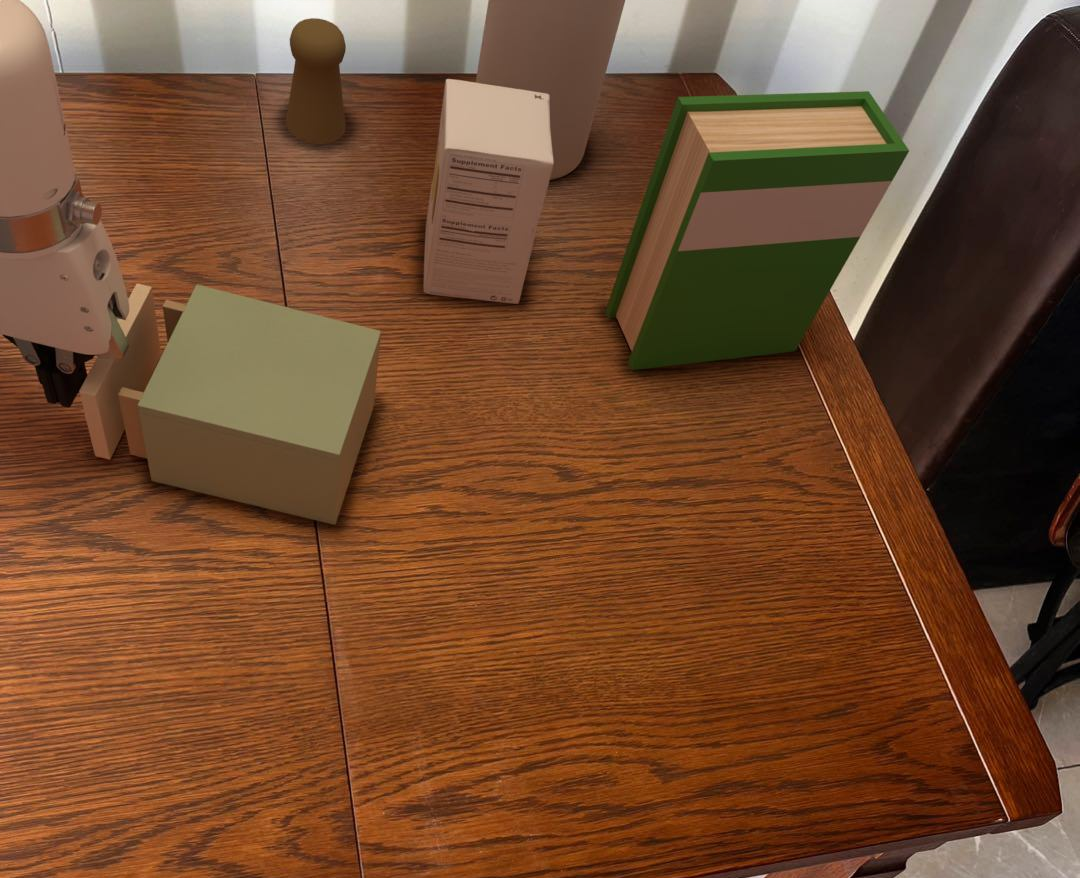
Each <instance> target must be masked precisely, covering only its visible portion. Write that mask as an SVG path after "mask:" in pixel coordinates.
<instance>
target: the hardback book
mask: <svg viewBox="0 0 1080 878" xmlns="http://www.w3.org/2000/svg"><path fill="white" fill-rule="evenodd" d="M665 131H666V132H665V134H664V138H663V140H662V143H661V146H660V149H659V152H658V155H657V157H656V161H655V163H654V168H653V170H652V172H651V175H650V178H649V182H648V184H647V187H646V190H645V193H644V196H643V199H642V202H641V205H640V208H639V211H638V213H637V217H636V220H635V222H634V225H633V228H632V231H631V234H630V237H629V240H628V243H627V246H626V249H625V252H624V255H623V257H622V260H621V264H620V266H619V269H618V272H617V276H616V279H615V282H614V284H613V287H612V290H611V292H610V297H609V298H608V302H607V304H606V308H605V315H606V317H607V319H608V320H609V319H616V320H617V322H618V324H619V327H620V328H621V331H622V333H623V335H624V337H625V340H626V342H627V344H628V346H629V349H630V351H631V353H630V356H629V358H628V361H627V364H628V367H629V369H630V371H636V370H637V371H638V370H645V369H656V368H664V367H670V366H671V367H672V366H681V365H690V364H696V363H697V364H698V363H706V362H707V363H708V362H715V361H722V360H723V361H724V360H732V359H741V358H748V357H756V356H766V355H774V354H783V353H792V352H796V351H797V349H798V347H799V346H800V344H801V342H802V340H803V338H804V337H805V335H806V333H807V331H808V330H809V328H810V326H811V324H812V323H813V321H814V319H815V318H816V316H817V314H818V312H819V310H820V309H821V307H822V305H823V303H824V302H825V300H826V298H827V296H828V295H829V293H830V291H831V289H832V287H834V284H835V283H836V281H837V279H838V277H839V275H840V274H841V272H842V270H843V268H844V266H845V265H846V263H847V261H848V259H849V258H850V256H851V254H852V253H853V251H854V249H855V247H856V245H857V243H858V242H859V240H860V238H861V236H862V235H863V234H864V231H865V230H866V228H867V227H868V224H869V223H870V221H871V219H872V218H873V216H874V214H875V212H876V210H877V208H878V207H879V205H880V203H881V201H882V199H883V198H884V196H885V194H887V191H888V189H889V188H890V186H891V184H892V182H893V181H894V178H895V177H896V175H897V174H898V172H899V170H900V168H901V166H902V165H903V163H904V161H905V160H906V158H907V156H908V154H909V152H910V150H909V148H908V147H907V145H906V143H905V142H904V141H903V139H902V138H901V136H900V134H899V133H898V132H897V130H896V129H895V128H894V126H893V124H892V123H891V122H890V120H889V119H888V117H887V115H886V114H885V112H884V111H883V110H882V108H881V107H880V105H879V104H878V103H877V100H876V99H875V97H873V95H872V94H871V92H870V91H869V90H866V91H865V90H864V91H863V90H861V91H835V92H834V91H833V92H831V91H830V92H829V91H828V92H802V93H800V92H799V93H765V94H738V95H737V94H736V95H734V94H731V95H700V96H699V95H698V96H678V97H677V99H676V102H675V105H674V108H673V111H672V114H671V117H670V120H669V123H668V125H667V128H666V130H665Z"/></svg>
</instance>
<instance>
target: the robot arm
mask: <svg viewBox="0 0 1080 878" xmlns="http://www.w3.org/2000/svg"><path fill="white" fill-rule="evenodd" d="M65 120H66V119H65V115H64V111H63V105H62V101H61V96H60V91H59V87H58V81H57V77H56V72H55V67H54V63H53V57H52V53H51V48H50V43H49V40H48V37H47V34H46V31H45V28H44V27H43V25H42V23H41V21H40V19H39V18H38V17H37V15H36V14H35V12H33V10H32V9H31V8H30V7H29V6H27V4H25V3H24V2H23V1H21V0H0V335H2V336H3V337H4V338H5V339H6V340H7V341H9V342H10V343H12V344H13V345H14V346H15V347H16V348H18V351H19V352H20V354H21V356H22V358H23V361H25V363H27V364H29V365H31V366H34V369H35V372H36V376H37V379H38V382H39V384H40V385H41V386H42V389H43V393H44V396H45V399H46V402H47V403H48V404H51V405H56V404H60V406H61V407H65V408H71V407H72V405H73V403H74V401H75V399H76V398H77V396H78V395H80V393H79V391H80V389H81V387H82V385H83V383H84V381H85V379H86V378H87V376H88V372H87V368H86V363H87V362H89V361H91V360H93V359H94V358H95V357H99V358H104V359H116V360H121V359H123V357H124V355H125V353H126V351H127V349H128V347H129V343H128V341H127V339H126V337H125V335H124V333H123V331H122V329H121V327H120V325H119V323H118V321H117V319H122V320H126V318H127V316H128V313H129V301H128V299H129V297H128V293H127V288H126V284H125V281H124V277H123V273H122V271H121V267H120V263H119V261H118V258H117V254H116V252H115V249H114V246H113V245H112V241H111V239H110V237H109V235H108V232H107V230H106V228H105V226H104V223H102V221H101V220H102V219H101V218H102V212H103V209H102V208H103V207H102V205H101V203H99V202H94V201H91V200H90V199H89V198H87V197H86V196H84V194H83V191H82V186H81V182H80V179H79V178H77V175H76V167H75V164H74V158H73V154H72V150H71V149H72V148H71V145H70V140H69V135H68V130H67V126H66V121H65Z"/></svg>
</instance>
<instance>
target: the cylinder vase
mask: <svg viewBox="0 0 1080 878" xmlns="http://www.w3.org/2000/svg"><path fill="white" fill-rule="evenodd" d="M625 3H626V0H488V2H487V7H486V14H485V20H484V28H483V32H482V39H481V45H480V52H479V57H478V65H477V71H476V78H475V83H481V84H487V85H494V86H501V87H507V88H514V89H521V90H527V91H534V92H540V93H546V94H549V96H550V98H549V112H550V132H551V143H552V153H553V161H554V165H553V169H552V173H551V177H550V180H549V181H551V180H557V179H560V178H563V177H564V176H567V175H568V174H570V173H571V172H573V171H574V170H576V168H577V167H578V166H579V165H580V163H581V162H582V160H583V158H584V155H585V151H586V148H587V145H588V141H589V137H590V134H591V129H592V125H593V121H594V119H595V116H596V111H597V107H598V103H599V99H600V96H601V94H602V93H601V92H602V88H603V86H604V81H605V77H606V74H607V70H608V68H609V67H608V66H609V64H610V63H609V62H610V60H611V55H612V52H613V47H614V44H615V41H616V37H617V33H618V31H619V30H618V29H619V26H620V22H621V18H622V14H623V11H624V8H625Z"/></svg>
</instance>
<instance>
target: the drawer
mask: <svg viewBox="0 0 1080 878" xmlns="http://www.w3.org/2000/svg"><path fill="white" fill-rule="evenodd" d="M154 299H155V298H154V293H153V287H152V286H150V285H145V284H141V283H138V282H136V284H135V285H134V287H133V289H132V291H131V293H130V295H129V297H128V301H129V313H128V316H127V318H126V320H122V319H118V318H116V319H117V321H118V323H119V325H120V327H121V329H122V331H123V333H124V335H125V337H126V339H127V341H128V343H129V347H128V349H127V351H126V353H125V355H124V357H123V359H121V360H116V359H104V358H99V357H98V356H96V359H95V361H94V363H93V365H92V366H91V368H90V371H89V372H88V373H87V375H88V376H87V378H86V379H85V381H84V383H83V385H82V387H81V389H80V391H79V393H80V394H79V397H80V401H81V405H82V409H83V413H84V417H85V421H86V425H87V429H88V434H89V437H90V441H91V445H92V449H93V452H94V456H95V457H98V458H101V459H106V460H111V459H112V457H113V454H114V453H115V451H116V448H117V447H118V445H119V442H120V440H121V439H122V436H123V434H124V432H125V436H126V440H127V445H128V451H129V454H130V456H135V457H138V458H143V459H147V454H146V448H145V443H144V438H143V432H142V427H141V421H140V416H139V410H138V403H139V401H140V399H141V397H142V395H143V393H144V391H145V389H146V387H147V385H148V383H149V381H150V379H151V377H152V375H153V372H154V370H155V368H156V366H157V364H158V362H159V360H160V358H161V356H162V348H161V343H160V342H161V341H160V335H159V328H158V320H157V313H156V306H155V300H154ZM186 305H187V303H182V302H179V301H178V302H177V301H173V300H170V299H165V300H164V302H163V304H162V311H163V319H164V326H165V334H166V341H167V343H168V342H169V340H170V338H171V336H172V334H173V331H174V329H175V327H176V325H177V323H178V321H179V319H180V317H181V315H182V313H183V311H184V309H185V307H186Z"/></svg>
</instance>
